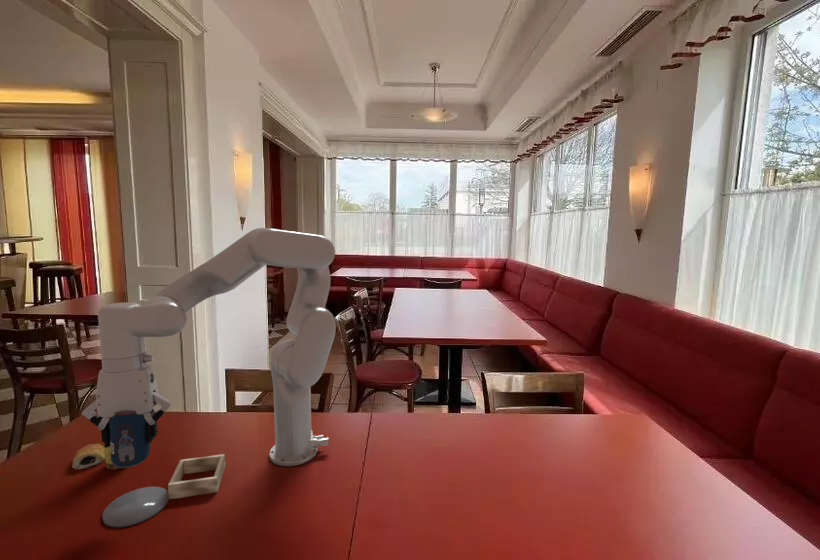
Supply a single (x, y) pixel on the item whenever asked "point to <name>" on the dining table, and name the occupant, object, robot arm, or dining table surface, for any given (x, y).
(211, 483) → the cup holder
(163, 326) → the robot arm
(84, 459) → the pastry
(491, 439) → the dining table surface
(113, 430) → the soda can
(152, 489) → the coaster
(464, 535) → the dining table surface
